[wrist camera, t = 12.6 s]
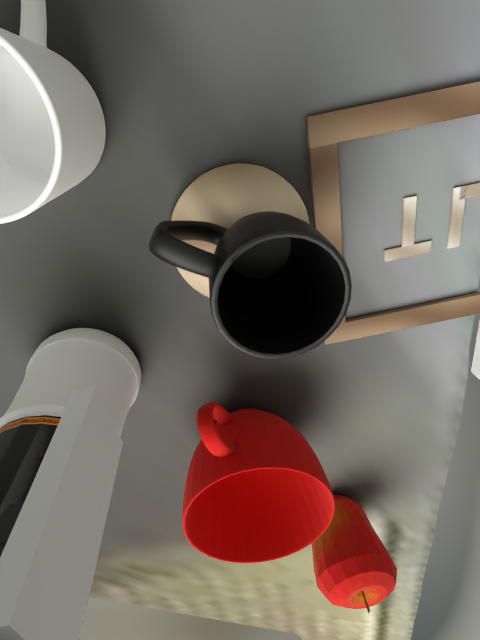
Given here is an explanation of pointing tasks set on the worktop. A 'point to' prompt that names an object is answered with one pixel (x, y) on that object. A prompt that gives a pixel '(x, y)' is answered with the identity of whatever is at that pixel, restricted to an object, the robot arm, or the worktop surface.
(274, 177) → the coaster
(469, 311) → the brown wooden frame
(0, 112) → the cup
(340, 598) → the apple
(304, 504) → the ceramic cup
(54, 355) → the vodka
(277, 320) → the mug
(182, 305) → the worktop surface
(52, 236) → the worktop surface
